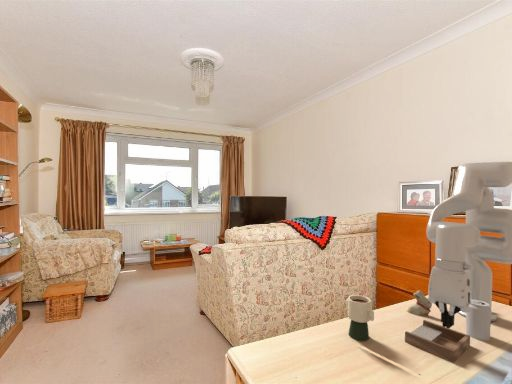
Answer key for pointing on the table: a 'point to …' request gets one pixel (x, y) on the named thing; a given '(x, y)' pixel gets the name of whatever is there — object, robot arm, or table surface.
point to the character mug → (359, 316)
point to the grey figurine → (420, 305)
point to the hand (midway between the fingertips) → (447, 326)
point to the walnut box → (441, 342)
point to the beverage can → (478, 320)
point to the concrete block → (428, 333)
